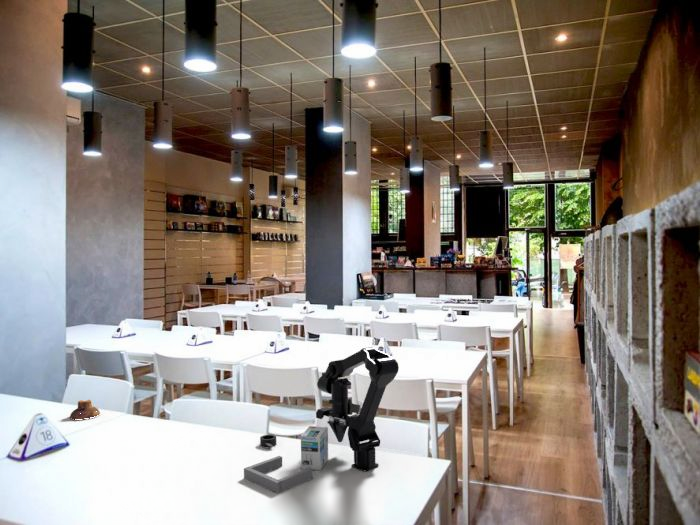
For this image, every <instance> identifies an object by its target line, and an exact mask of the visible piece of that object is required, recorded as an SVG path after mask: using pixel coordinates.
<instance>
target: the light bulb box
mask: <svg viewBox="0 0 700 525" xmlns="http://www.w3.org/2000/svg"><path fill="white" fill-rule="evenodd" d="M328 459H329V427H328V426H313V425H309V426H308V427H307V428H306V430H305V431H303V433H302V434H301V435H300V460H301V462H300V465H301V466H300V468H301V470H304V469H306V468H309V467H310V468H313V471H314V470H315V471H316V470H317V471H321V470H322V469H323V467H324V465H326V463H327V461H328Z"/></svg>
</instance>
